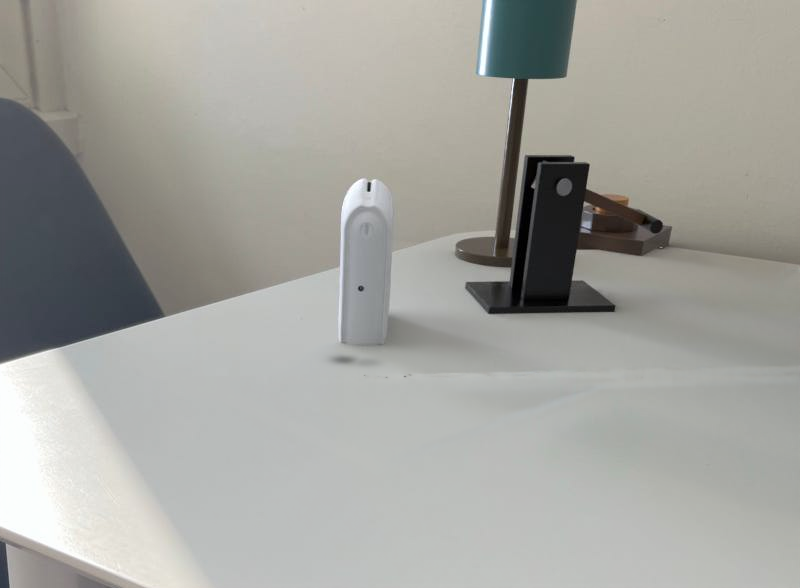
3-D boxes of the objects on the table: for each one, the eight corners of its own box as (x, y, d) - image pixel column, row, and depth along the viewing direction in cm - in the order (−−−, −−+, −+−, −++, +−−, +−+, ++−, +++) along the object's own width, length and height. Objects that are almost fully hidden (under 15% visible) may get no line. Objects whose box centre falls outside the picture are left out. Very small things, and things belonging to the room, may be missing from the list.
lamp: (545, 254, 113) (581, -8, 99) (545, 275, 105) (585, -7, 91) (457, 249, 114) (480, -10, 100) (451, 269, 106) (475, -9, 92)
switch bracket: (581, 292, 100) (603, 151, 92) (613, 318, 92) (640, 167, 85) (464, 294, 98) (478, 151, 91) (487, 320, 91) (504, 167, 84)
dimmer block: (668, 245, 118) (675, 209, 115) (640, 261, 111) (647, 223, 109) (573, 232, 123) (578, 197, 121) (540, 246, 116) (545, 209, 114)
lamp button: (630, 213, 115) (633, 196, 114) (619, 218, 113) (622, 201, 112) (601, 209, 117) (603, 193, 116) (589, 213, 115) (592, 197, 114)
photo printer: (387, 354, 82) (396, 193, 75) (335, 352, 82) (340, 191, 75) (387, 318, 91) (395, 171, 84) (340, 317, 91) (345, 169, 84)
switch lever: (634, 230, 95) (647, 205, 94) (655, 242, 91) (669, 216, 89) (526, 184, 91) (538, 157, 90) (542, 194, 87) (555, 166, 86)
